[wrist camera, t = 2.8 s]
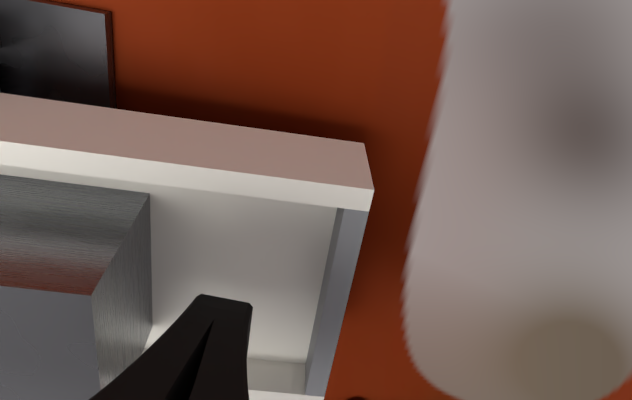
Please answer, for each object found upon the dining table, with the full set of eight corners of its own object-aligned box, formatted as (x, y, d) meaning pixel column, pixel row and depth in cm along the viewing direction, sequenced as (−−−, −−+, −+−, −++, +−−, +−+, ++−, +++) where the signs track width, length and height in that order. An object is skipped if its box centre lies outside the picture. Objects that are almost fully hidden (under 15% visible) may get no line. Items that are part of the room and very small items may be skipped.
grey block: (149, 193, 13) (91, 295, 10) (152, 325, 15) (105, 446, 12) (-51, 168, 13) (-187, 265, 9) (-15, 308, 15) (-114, 427, 12)
